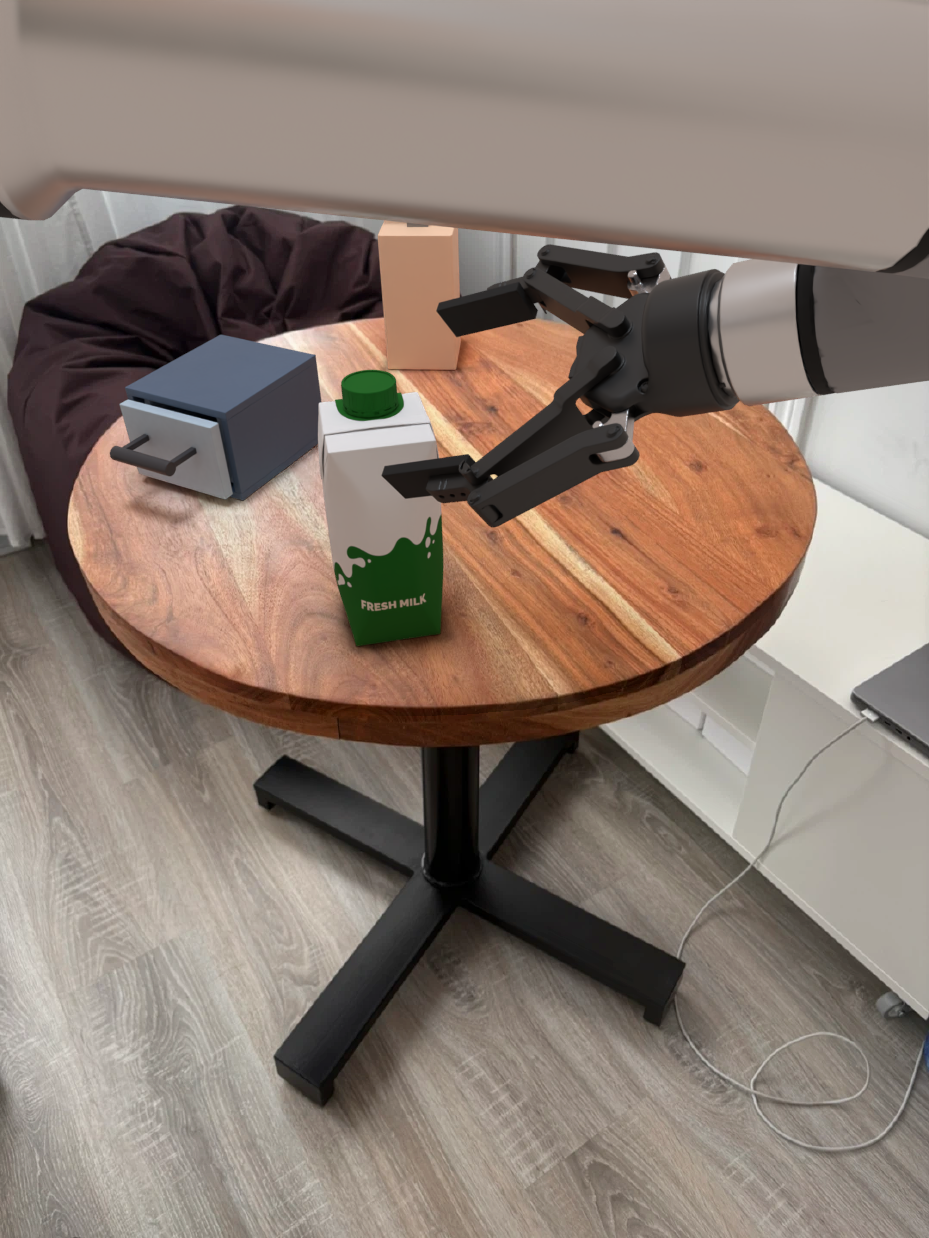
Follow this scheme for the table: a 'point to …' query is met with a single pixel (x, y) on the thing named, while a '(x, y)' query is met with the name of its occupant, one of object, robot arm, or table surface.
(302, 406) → the blue drawer cabinet
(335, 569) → the milk carton
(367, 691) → the table surface
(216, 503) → the table surface
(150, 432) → the drawer
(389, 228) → the soap dispenser
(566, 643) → the table surface
